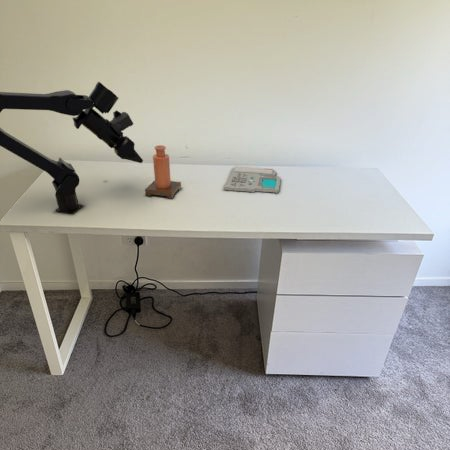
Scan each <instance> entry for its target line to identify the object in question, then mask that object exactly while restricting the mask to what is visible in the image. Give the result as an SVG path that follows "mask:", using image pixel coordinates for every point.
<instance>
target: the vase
mask: <svg viewBox="0 0 450 450" xmlns="http://www.w3.org/2000/svg"><path fill="white" fill-rule="evenodd" d="M166 149H167V146H166V145H161V144H160V145H156V146H154V150H155V154H153V155H152V162H153V163H152V164H153V174H154V180H155V186H156V187H157V188H161V189H164V188H169V187H171V181H172V179H171V178H172V177H171V163H170V155H169V154H167V153H166Z"/></svg>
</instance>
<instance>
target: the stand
mask: <svg viewBox="0 0 450 450" xmlns="http://www.w3.org/2000/svg"><path fill="white" fill-rule="evenodd" d="M181 189H182V182H181V181H174V180H171V187H169V188H164V189H161V188H157V187H156V186H155V179H154V180H153V181H152V182H151V183H150V184H149V185H148V186H147V187H145V189H144V192H145V196H146V197H152V196H153V195H154V196H155V195H156V196H163V197H167V199H169V200H172V199H174V197H175V196H174V195H175V194H176V193H177V192H178V191H180V190H181Z"/></svg>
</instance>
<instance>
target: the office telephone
mask: <svg viewBox="0 0 450 450" xmlns="http://www.w3.org/2000/svg"><path fill="white" fill-rule="evenodd" d="M276 173H277V170H275V169H273V168H268V167H267V168H266V167H254V166H253V167H250V166H238V165H235V166H233V168H232V170H231V172H230V175H229V177H228V179H227V181H226V183H225V185H224V191H235V192H249V193H250V192H252V193H254V192H265V193H274V194H279V191H280V186H281V176H276Z"/></svg>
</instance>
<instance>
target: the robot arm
mask: <svg viewBox="0 0 450 450" xmlns="http://www.w3.org/2000/svg"><path fill="white" fill-rule="evenodd" d="M119 99H120V98H119V96H117V95H116V94H115V93H114V92H113V91H112V90H111V89H109V88H107V87H106V86H105V85H104V84H103V83H101V82H100V81H97V83H96V84H95V86H94V88H93V89H92V91H91V93H89V95H85V94H76V93H75V92H74V91H71V90H68V89H65V90H58V91H53V92H49V93H31V92H30V93H29V92H9V91H0V113H1V112H2V111H4V110H25V111H26V110H27V111H28V110H29V111H30V110H31V111H50V112H54V113H58V114H61V115H66V116H71V117H72V121H73V126H74V127H75V128H76V130H79V129H80V127H81V126H83V127H84V128H85V129H87V130H88V131H89V132H90V133H92V134H93V135H95V136H96V137H97V138H98V139H99V140H100V141H103V143H105V144H106V145H107V146H108V147H109V148H111V149H113V151H114V154H115V155H116V156H117V157H118V158H120V159H121V160H126V161H132V162H136V163H139V164H142V163H143V162H144V159H143V158H142V157H141V156H140V154H139V153H138V152H137V151H136V149H135V145H136V144H135V142H134V141H133V140H132V139H131V138H130V137H129V136H127V135H126V136H125V135H124V132H123V131H125V130H126V129H127V128H130V127H133V125H134V122H133V120H132V118H131V116H130V115H129V113H128V112H126V111H122V112H121V111H119V110H114V111H113V112H112V115H113V117H112V119H111V120H109V119H108V118H105V117H104V116H102V115H104V114H109V113H110V111H111V110H112V109H113V108H114V106H115V105H116V103H117V101H118V100H119ZM94 108H95V109H94ZM96 110H98V111H96ZM100 113H101V114H102V115H101V114H100ZM0 147H2V148H3V149H5V150H7V151H8V152H10V153H12V154H13V155H15V156H17V157H18V158H21V159H22V160H24V161H26V162H28V163H29V164H32V165H33V166H35V167H37V168H38V169H40V170H42V171H43V172H45V173H47V174H48V175H49V176H50V177H51V178H52V179H53V180H52V181H51V184H52V186H53V188H54V190H55V193H54V195H55V199H56V203H57V208H55V209H54V211H55V213H62V214H68V215H69V214H70V215H73V214H75V213H76V212H77V211H78V210H80V209H82V208H83V206H84V205H83V204H80V203H79V199H78V195H77V192H76V191H77V190H76V189H77V187H78V186H79V185H80V177H79V175H78V173H77V172H76V169H75V168H74V166H73V165H72V164H71V163H69V162H66V161H65V160H64V159H63V158H62V157H59V158H58V160H54V159H52V158H50V157H48V156H46V155H45V154H44V153H41V152H39V151H38V150H37V149H35V148H33V147H31V146H30V145H28V144H26V143H25V142H23V141H21V140H20V139H18V138H16V137H15V136H13V135H11V134H10V133H8V132H7V131H5V130H4V129H3V128H2V127H0Z"/></svg>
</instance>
